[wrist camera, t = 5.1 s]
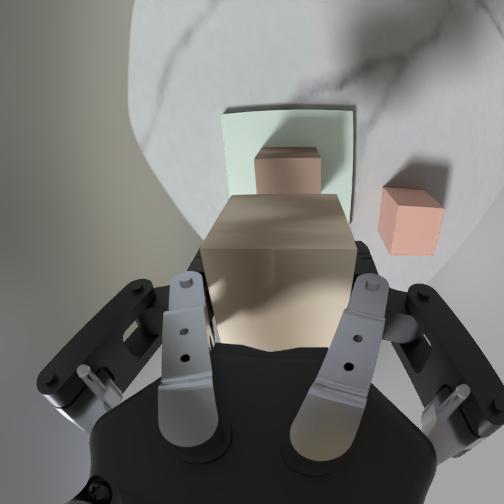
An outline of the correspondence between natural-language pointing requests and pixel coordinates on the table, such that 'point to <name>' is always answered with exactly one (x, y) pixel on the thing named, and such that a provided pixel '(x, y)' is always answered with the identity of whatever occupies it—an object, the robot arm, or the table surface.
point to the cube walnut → (288, 170)
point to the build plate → (291, 135)
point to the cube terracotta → (409, 221)
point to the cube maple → (279, 269)
